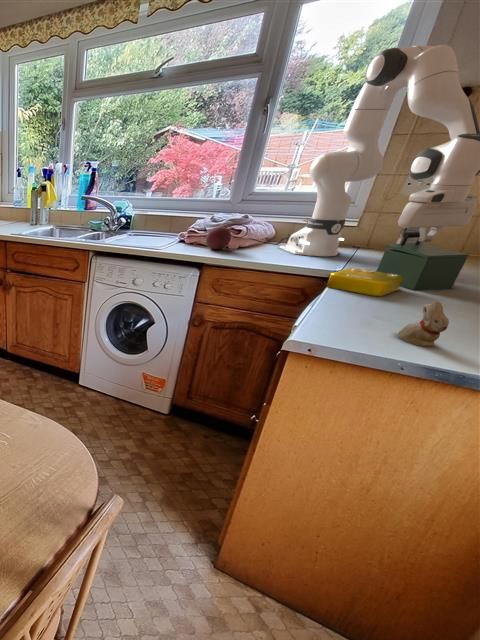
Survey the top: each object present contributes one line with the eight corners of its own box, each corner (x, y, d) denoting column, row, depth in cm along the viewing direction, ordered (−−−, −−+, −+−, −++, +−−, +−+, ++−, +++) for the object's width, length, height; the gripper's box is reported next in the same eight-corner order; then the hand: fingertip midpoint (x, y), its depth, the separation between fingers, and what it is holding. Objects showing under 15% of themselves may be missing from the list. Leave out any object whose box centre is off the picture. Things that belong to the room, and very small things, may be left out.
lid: (384, 246, 146) (391, 231, 143) (420, 245, 146) (428, 229, 143) (427, 258, 132) (436, 241, 130) (467, 256, 132) (477, 240, 130)
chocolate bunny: (407, 345, 100) (428, 304, 95) (394, 334, 106) (413, 294, 101) (438, 349, 98) (461, 306, 93) (423, 336, 104) (443, 296, 99)
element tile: (323, 286, 143) (328, 272, 140) (345, 279, 149) (350, 265, 147) (379, 297, 131) (386, 281, 129) (400, 289, 138) (407, 274, 136)
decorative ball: (206, 251, 196) (212, 228, 191) (201, 247, 205) (206, 225, 200) (230, 251, 194) (236, 228, 189) (224, 247, 202) (229, 225, 198)
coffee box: (385, 265, 164) (404, 221, 157) (408, 267, 161) (428, 222, 153) (387, 270, 158) (406, 224, 151) (410, 272, 155) (432, 225, 147)
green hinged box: (373, 278, 150) (385, 249, 145) (408, 277, 150) (421, 248, 145) (413, 289, 137) (427, 258, 132) (451, 288, 137) (467, 257, 132)
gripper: (468, 192, 135) (446, 238, 142) (405, 194, 135) (385, 240, 141) (490, 194, 129) (466, 242, 136) (424, 197, 129) (403, 244, 136)
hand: (424, 241), depth 139 cm, fingers closed
